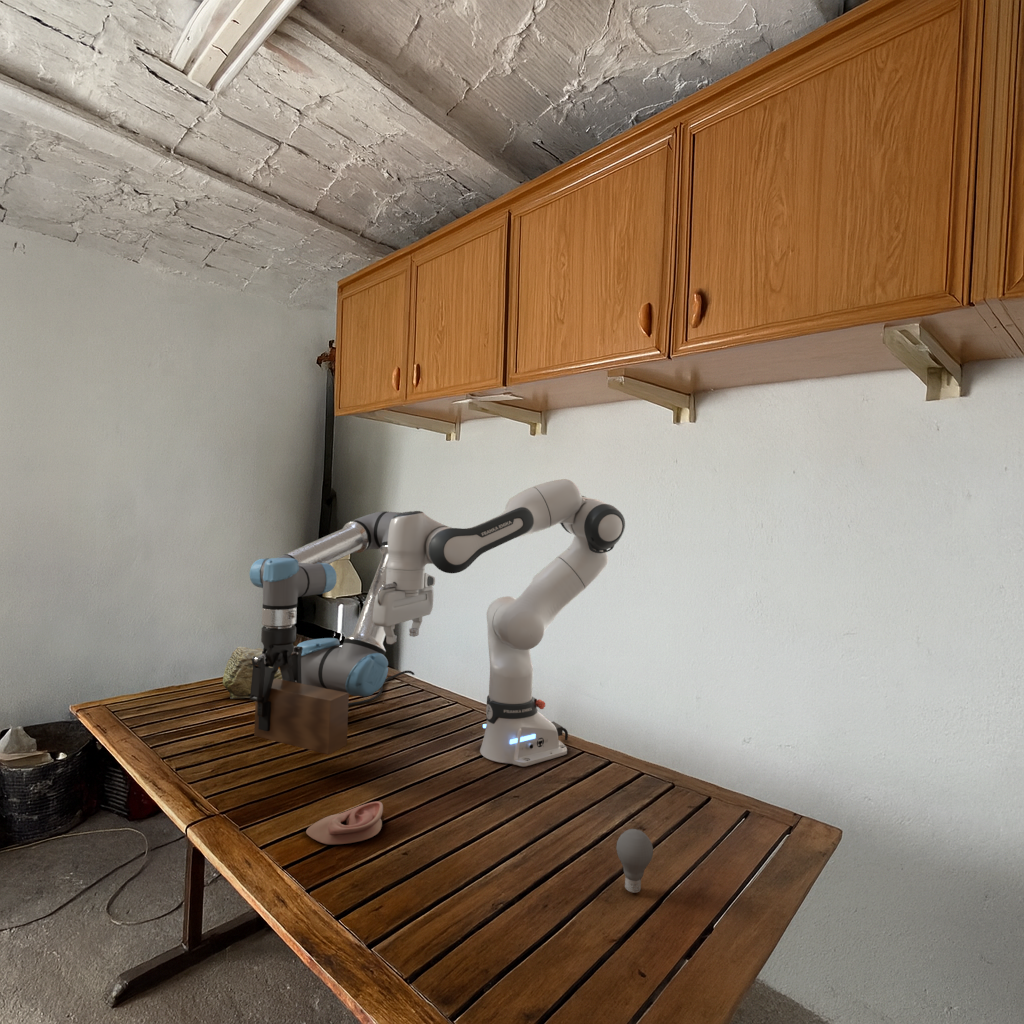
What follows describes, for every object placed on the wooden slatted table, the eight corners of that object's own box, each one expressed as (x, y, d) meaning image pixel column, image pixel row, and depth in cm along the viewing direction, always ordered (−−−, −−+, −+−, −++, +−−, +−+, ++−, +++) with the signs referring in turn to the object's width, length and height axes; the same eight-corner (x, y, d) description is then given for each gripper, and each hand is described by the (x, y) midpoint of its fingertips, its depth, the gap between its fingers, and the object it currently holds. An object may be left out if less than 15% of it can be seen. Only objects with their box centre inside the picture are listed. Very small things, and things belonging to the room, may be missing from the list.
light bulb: (610, 879, 108) (613, 822, 108) (644, 879, 109) (647, 822, 109) (619, 902, 102) (622, 840, 102) (655, 901, 103) (658, 840, 103)
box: (254, 735, 145) (255, 684, 145) (274, 727, 151) (276, 678, 150) (328, 754, 136) (330, 700, 136) (346, 744, 142) (348, 692, 142)
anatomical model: (298, 818, 116) (328, 791, 128) (297, 839, 116) (327, 810, 128) (365, 829, 114) (390, 800, 125) (364, 851, 114) (389, 820, 125)
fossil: (218, 695, 195) (220, 647, 195) (278, 685, 208) (279, 640, 207) (228, 703, 189) (230, 653, 188) (289, 692, 201) (290, 645, 201)
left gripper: (259, 635, 136) (255, 741, 136) (320, 620, 153) (316, 715, 154) (233, 630, 139) (229, 735, 139) (296, 617, 156) (292, 710, 157)
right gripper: (391, 586, 137) (388, 650, 137) (438, 577, 155) (436, 633, 156) (366, 583, 139) (364, 646, 139) (416, 575, 158) (414, 630, 158)
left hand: (275, 724), depth 146 cm, fingers closed on box, 6 cm apart
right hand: (402, 639), depth 148 cm, fingers open, 8 cm apart
